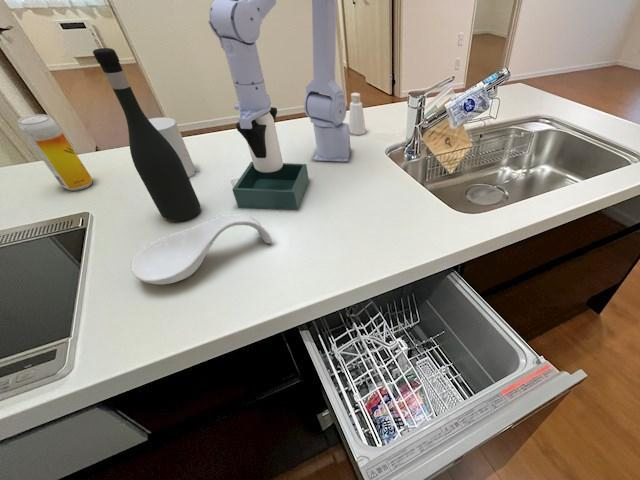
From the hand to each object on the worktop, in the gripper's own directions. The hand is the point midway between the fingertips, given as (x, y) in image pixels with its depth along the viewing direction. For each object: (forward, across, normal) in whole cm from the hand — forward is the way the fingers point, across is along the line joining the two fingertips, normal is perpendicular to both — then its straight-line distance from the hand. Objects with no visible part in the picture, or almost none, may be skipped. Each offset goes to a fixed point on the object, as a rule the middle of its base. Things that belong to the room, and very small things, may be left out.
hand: (265, 150), depth 77 cm
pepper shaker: (+10, -39, +16) cm, 44 cm away
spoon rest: (+10, +26, -6) cm, 29 cm away
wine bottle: (+10, +11, -18) cm, 23 cm away
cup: (+10, -7, -27) cm, 30 cm away
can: (+4, 0, 0) cm, 4 cm away
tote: (+10, +1, 0) cm, 10 cm away
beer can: (+10, +1, -47) cm, 48 cm away
